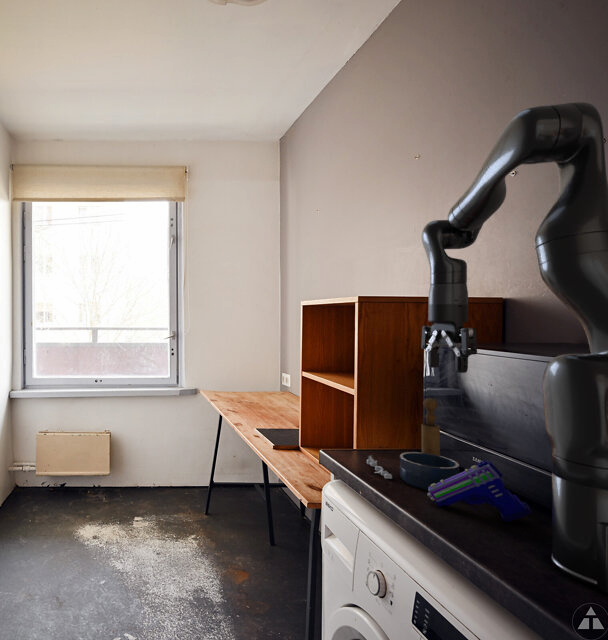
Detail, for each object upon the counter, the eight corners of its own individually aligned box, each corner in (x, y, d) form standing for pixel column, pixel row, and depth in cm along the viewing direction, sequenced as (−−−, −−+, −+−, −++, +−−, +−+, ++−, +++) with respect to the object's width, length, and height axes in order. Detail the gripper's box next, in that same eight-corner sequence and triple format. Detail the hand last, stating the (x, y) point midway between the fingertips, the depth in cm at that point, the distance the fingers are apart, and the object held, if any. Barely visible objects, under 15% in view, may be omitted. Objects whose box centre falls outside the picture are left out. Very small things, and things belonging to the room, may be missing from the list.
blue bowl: (471, 494, 91) (471, 469, 91) (417, 492, 92) (417, 467, 92) (438, 475, 102) (438, 452, 102) (390, 473, 103) (390, 451, 103)
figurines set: (393, 479, 99) (393, 467, 99) (380, 478, 99) (380, 467, 99) (372, 462, 111) (372, 452, 111) (361, 462, 111) (361, 451, 111)
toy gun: (534, 512, 75) (489, 462, 79) (461, 539, 82) (422, 492, 85) (530, 504, 79) (487, 456, 82) (460, 530, 85) (423, 485, 89)
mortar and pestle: (436, 463, 110) (436, 396, 110) (453, 472, 103) (452, 401, 104) (409, 462, 111) (409, 396, 111) (424, 471, 104) (424, 400, 104)
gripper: (411, 303, 106) (411, 366, 107) (455, 302, 92) (454, 374, 92) (440, 303, 106) (440, 365, 107) (489, 302, 92) (488, 374, 92)
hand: (446, 369), depth 100 cm, fingers open, 8 cm apart
